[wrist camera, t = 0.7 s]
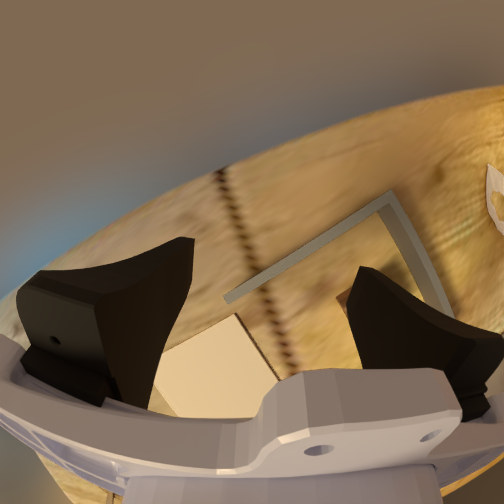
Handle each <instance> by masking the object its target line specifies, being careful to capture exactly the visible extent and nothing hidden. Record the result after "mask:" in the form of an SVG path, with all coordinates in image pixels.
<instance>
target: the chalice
mask: <svg viewBox="0 0 504 504" xmlns="http://www.w3.org/2000/svg"><path fill="white" fill-rule="evenodd" d="M501 336H502V337H503V338H504V333H503V334H502V335H501ZM485 384H486V386H487V388H488V391H487V392H486V393H484V395H485V396H486V398H489V397H490V396H492V395H494V394H497V393H500V392H503V391H504V358H503V360H502V362H501V363H500V365H499V366H498V368H497V369H496V370H495V372H494V373H493V374H492V375H491V377H490V378H489V379H488V380H487V382H486V383H485Z"/></svg>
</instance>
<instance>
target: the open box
mask: <svg viewBox="0 0 504 504" xmlns="http://www.w3.org/2000/svg"><path fill="white" fill-rule="evenodd" d="M376 211H377V212H378V214H379V215H380V217H381V219H382V220H383V222H384V224H385V225H386V227H387V229H388V231H389V232H390V234H391V236H392V238H393V239H394V241H395V243H396V245H397V247H398V248H399V250H400V252H401V254H402V256H403V258H404V260H405V262H406V264H407V265H408V267H409V269H410V271H411V273H412V275H413V277H414V279H415V282H416V284H417V286H418V288H419V290H420V292H421V294H422V296H423V299H424V301H425V303H426V304H427V305H429V306H431V307H432V308H434V309H436V310H438V311H439V312H441V313H443V314H445V315H447V316H450V317H452V318H454V319H455V317H454V314H453V311H452V309H451V306H450V303H449V301H448V298H447V296H446V294H445V291H444V289H443V286H442V284H441V282H440V279H439V277H438V275H437V273H436V271H435V268H434V266H433V264H432V262H431V260H430V258H429V256H428V254H427V252H426V250H425V248H424V246H423V244H422V242H421V240H420V238H419V236H418V234H417V232H416V231H415V229H414V227H413V225H412V223H411V221H410V220H409V218H408V216H407V214H406V213H405V211H404V209H403V208H402V206H401V204H400V203H399V201H398V199H397V198H396V196H395V194H394V193H393V191H392V190H391V189H390V190H389V191H387V192H386V193H384V194H382V195H381V196H379V197H378V198H376V199H375V200H373V201H372V202H370V203H369V204H367V205H366V206H364V207H363V208H361V209H360V210H358V211H356V212H355V213H353V214H352V215H350V216H349V217H347V218H346V219H344V220H343V221H341V222H340V223H338V224H336V225H335V226H333V227H332V228H330V229H329V230H327V231H326V232H324V233H322V234H321V235H319V236H318V237H316V238H315V239H313V240H312V241H310V242H308V243H307V244H305V245H304V246H302V247H301V248H299V249H297V250H296V251H294V252H293V253H291V254H289V255H288V256H286V257H285V258H283V259H281V260H280V261H278V262H277V263H275V264H273V265H272V266H270V267H269V268H267V269H265V270H264V271H262V272H261V273H259V274H257V275H256V276H254V277H252V278H251V279H249V280H248V281H246V282H244V283H243V284H241V285H239V286H238V287H236V288H235V289H233V290H231V291H230V292H228V293H227V294H225V295H224V296H223V297H224V299H225V301H226V302H227V304H230V303H232V302H233V301H235V300H237V299H238V298H240V297H242V296H243V295H245V294H247V293H248V292H250V291H252V290H253V289H255V288H257V287H258V286H260V285H262V284H263V283H265V282H266V281H268V280H270V279H271V278H273V277H275V276H276V275H278V274H279V273H281V272H283V271H284V270H286V269H288V268H289V267H291V266H292V265H294V264H296V263H297V262H299V261H300V260H302V259H304V258H305V257H307V256H308V255H310V254H311V253H313V252H315V251H316V250H318V249H319V248H321V247H322V246H324V245H326V244H327V243H329V242H330V241H332V240H333V239H335V238H336V237H338V236H339V235H341V234H343V233H344V232H346V231H347V230H349V229H350V228H352V227H353V226H355V225H356V224H358V223H359V222H361V221H362V220H364V219H365V218H367V217H368V216H370V215H371V214H373V213H374V212H376Z"/></svg>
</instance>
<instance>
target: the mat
mask: <svg viewBox="0 0 504 504" xmlns="http://www.w3.org/2000/svg"><path fill="white" fill-rule="evenodd" d="M277 382H279V380H278V378H277V377H276V376H275V374H274V373H273V371H272V370H271V368H270V367H269V365H268V364H267V362H266V361H265V359H264V358H263V356H262V355H261V353H260V352H259V350H258V349H257V347H256V346H255V344H254V343H253V341H252V340H251V338H250V336H249V335H248V333H247V332H246V330H245V329H244V327H243V326H242V324H241V323H240V321H239V319H238V318H237V316H236V315H235V313H234V314H232V315H231V316H229V317H227V318H225V319H224V320H222V321H220V322H218V323H217V324H215V325H213V326H211V327H210V328H208V329H206V330H204V331H202V332H201V333H199V334H197V335H195V336H193V337H192V338H190V339H188V340H186V341H184V342H182V343H181V344H179V345H177V346H175V347H173V348H171V349H169V350H167V351H166V352H164V353H162V356H161V359H160V362H159V365H158V369H157V372H156V376H155V380H154V385H155V386H156V388H157V389H158V390H159V392H160V393H161V395H162V396H163V397H164V399H165V400H166V401H167V403H168V404H169V405H170V407H171V408H172V409H173V411H174V412H175V413H176V415H177V416H178V417H186V418H248V417H255V416H256V414H257V413H258V411H259V408H260V405H261V403H262V400H263V397H264V396H265V395H266V394H267V393H268V392H269V391H270V390H271V388H272V387H273V386H274V385H275V384H276V383H277Z"/></svg>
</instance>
